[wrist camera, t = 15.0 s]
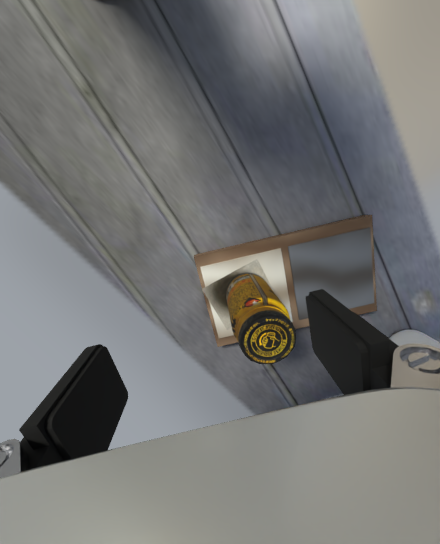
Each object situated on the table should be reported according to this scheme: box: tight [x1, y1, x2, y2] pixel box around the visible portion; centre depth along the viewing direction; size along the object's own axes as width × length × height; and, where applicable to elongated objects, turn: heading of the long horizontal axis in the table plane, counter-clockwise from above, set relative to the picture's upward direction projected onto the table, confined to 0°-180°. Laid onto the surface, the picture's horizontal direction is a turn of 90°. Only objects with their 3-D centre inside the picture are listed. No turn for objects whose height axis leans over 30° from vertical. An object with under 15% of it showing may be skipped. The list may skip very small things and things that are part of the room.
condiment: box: [202, 259, 296, 364], centre depth 26 cm, size 7×8×12 cm
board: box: [194, 215, 377, 347], centre depth 33 cm, size 14×24×2 cm, turn 103°
